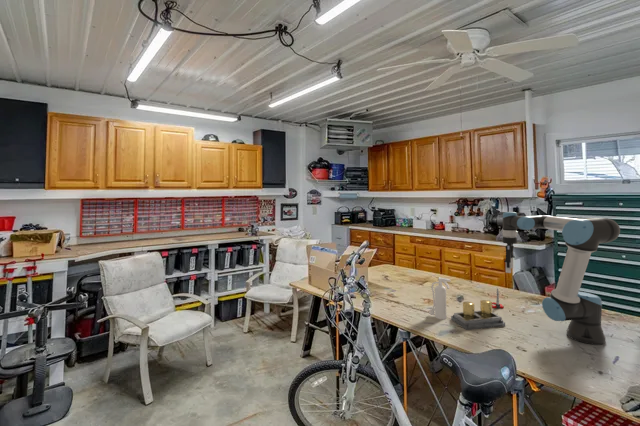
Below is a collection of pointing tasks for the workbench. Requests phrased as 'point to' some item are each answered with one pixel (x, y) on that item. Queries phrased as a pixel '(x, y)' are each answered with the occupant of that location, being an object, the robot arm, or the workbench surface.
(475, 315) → the housing
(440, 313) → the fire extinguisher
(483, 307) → the sleeve
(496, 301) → the tow hook
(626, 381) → the workbench surface
